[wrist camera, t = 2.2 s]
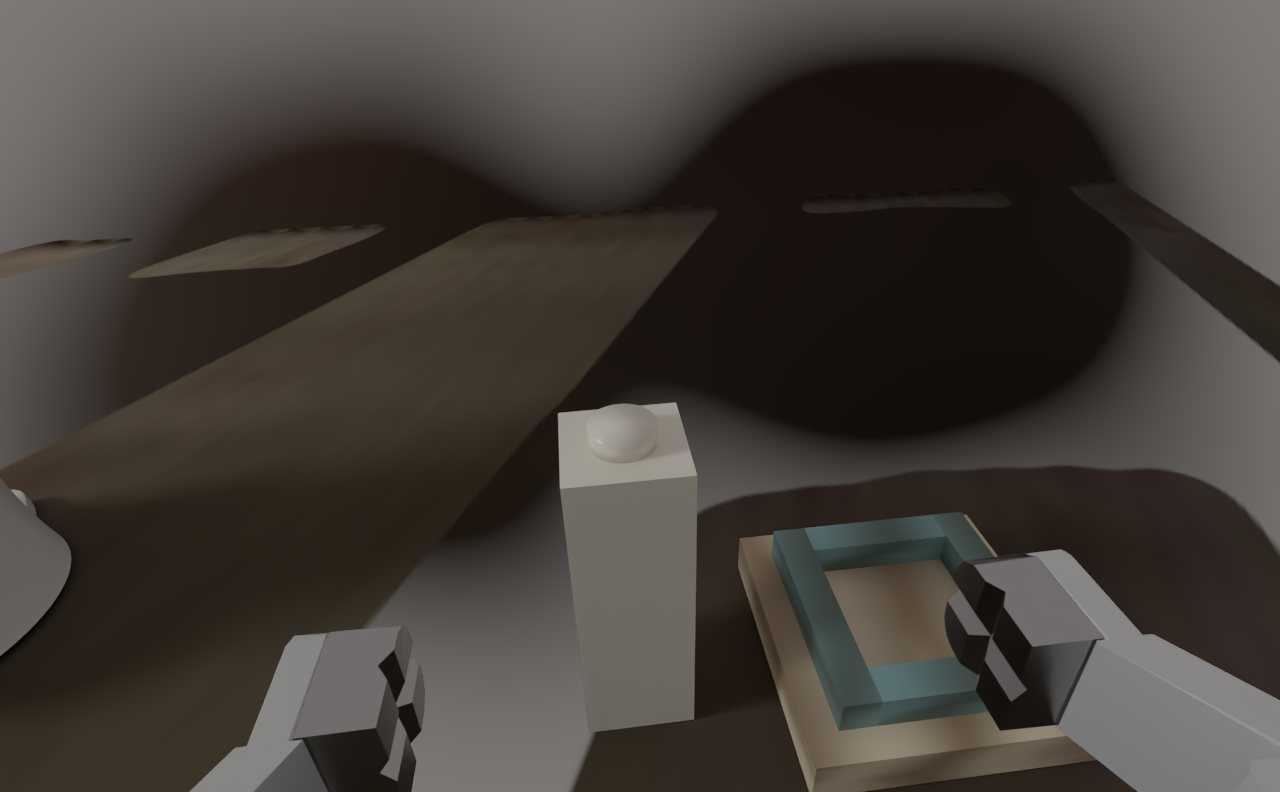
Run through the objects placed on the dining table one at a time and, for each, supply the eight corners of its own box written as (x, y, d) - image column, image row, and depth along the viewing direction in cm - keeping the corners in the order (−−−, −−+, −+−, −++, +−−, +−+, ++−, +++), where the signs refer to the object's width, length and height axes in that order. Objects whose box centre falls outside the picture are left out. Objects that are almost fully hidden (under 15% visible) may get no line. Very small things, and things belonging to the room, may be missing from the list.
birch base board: (811, 798, 27) (821, 744, 25) (738, 566, 37) (741, 516, 35) (1110, 758, 27) (1141, 703, 26) (958, 542, 38) (972, 492, 36)
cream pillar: (589, 732, 29) (557, 468, 22) (584, 644, 33) (555, 394, 26) (694, 719, 29) (697, 455, 22) (677, 634, 33) (675, 384, 26)
